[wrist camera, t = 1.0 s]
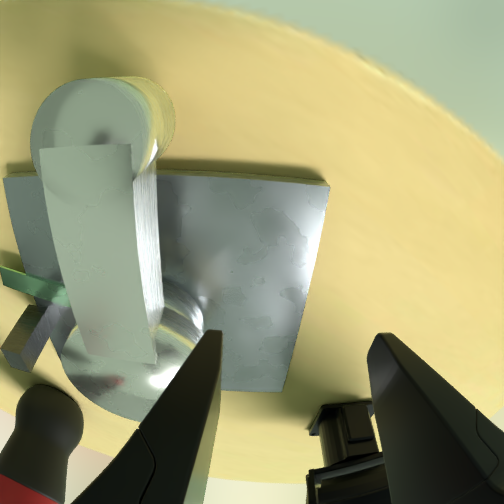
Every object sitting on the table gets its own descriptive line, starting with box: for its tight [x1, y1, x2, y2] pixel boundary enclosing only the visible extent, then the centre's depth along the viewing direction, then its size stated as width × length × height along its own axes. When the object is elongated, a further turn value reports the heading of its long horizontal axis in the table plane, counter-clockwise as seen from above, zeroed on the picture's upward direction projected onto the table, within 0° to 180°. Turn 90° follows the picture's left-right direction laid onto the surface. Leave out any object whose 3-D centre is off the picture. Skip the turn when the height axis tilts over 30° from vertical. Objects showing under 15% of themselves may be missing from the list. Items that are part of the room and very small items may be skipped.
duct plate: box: [0, 169, 330, 392], centre depth 18 cm, size 18×23×6 cm
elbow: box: [30, 76, 204, 422], centre depth 15 cm, size 20×9×5 cm, turn 175°
